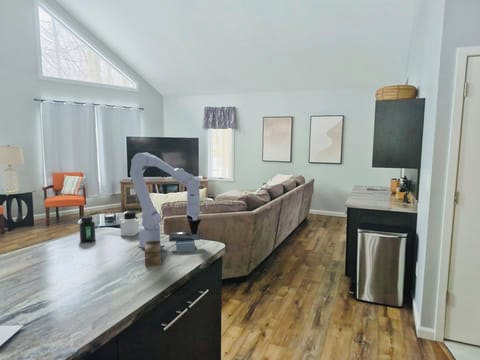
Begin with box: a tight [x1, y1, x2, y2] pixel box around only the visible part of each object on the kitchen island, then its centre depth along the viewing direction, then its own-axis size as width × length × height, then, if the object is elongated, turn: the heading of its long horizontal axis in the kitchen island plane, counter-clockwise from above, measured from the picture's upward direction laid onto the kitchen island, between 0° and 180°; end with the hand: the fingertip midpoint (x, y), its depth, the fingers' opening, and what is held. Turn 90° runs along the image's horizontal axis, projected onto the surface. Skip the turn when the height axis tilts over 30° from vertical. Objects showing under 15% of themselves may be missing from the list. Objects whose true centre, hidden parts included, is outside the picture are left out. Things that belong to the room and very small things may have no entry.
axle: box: [168, 230, 201, 243], centre depth 147 cm, size 14×4×4 cm, turn 104°
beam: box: [144, 240, 162, 267], centre depth 133 cm, size 6×14×6 cm, turn 14°
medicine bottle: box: [119, 210, 140, 237], centre depth 168 cm, size 7×7×12 cm
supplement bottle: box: [78, 215, 96, 244], centre depth 156 cm, size 7×7×12 cm
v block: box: [175, 240, 196, 253], centre depth 148 cm, size 8×10×4 cm
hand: (193, 231), depth 148 cm, fingers open, 7 cm apart
